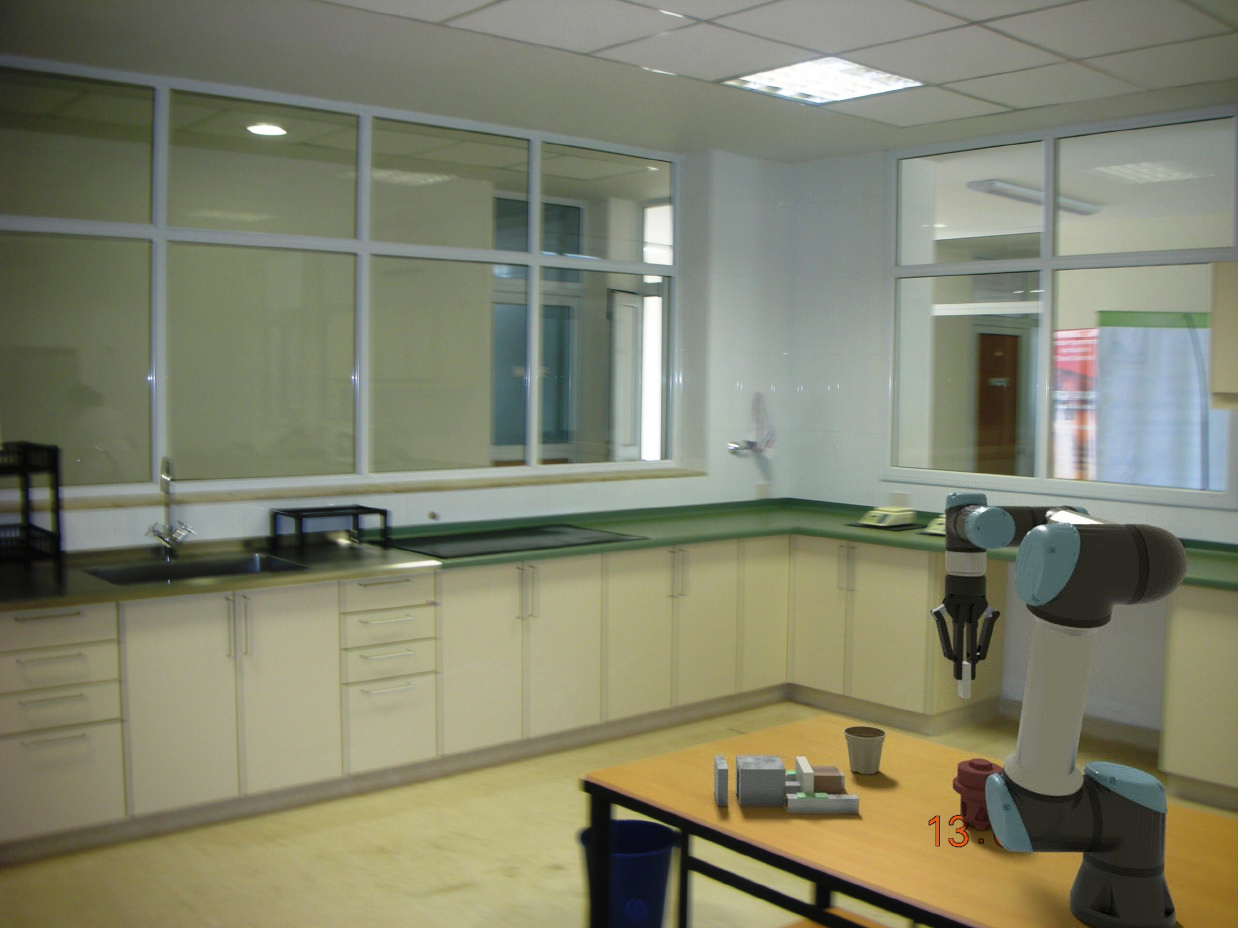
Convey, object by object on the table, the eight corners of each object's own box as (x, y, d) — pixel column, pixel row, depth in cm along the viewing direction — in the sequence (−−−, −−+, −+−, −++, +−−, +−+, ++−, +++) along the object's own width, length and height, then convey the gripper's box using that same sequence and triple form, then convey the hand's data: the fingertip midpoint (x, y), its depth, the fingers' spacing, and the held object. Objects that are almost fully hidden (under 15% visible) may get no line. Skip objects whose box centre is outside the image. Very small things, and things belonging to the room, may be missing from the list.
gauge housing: (858, 813, 210) (859, 775, 209) (719, 812, 210) (719, 774, 209) (842, 785, 226) (842, 750, 225) (712, 784, 226) (712, 749, 225)
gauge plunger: (813, 806, 213) (813, 772, 212) (743, 806, 213) (743, 772, 212) (804, 789, 223) (805, 756, 222) (737, 788, 223) (738, 755, 222)
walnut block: (841, 804, 215) (841, 775, 215) (811, 804, 215) (811, 775, 215) (835, 794, 221) (836, 765, 221) (806, 793, 221) (807, 765, 221)
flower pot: (833, 766, 238) (834, 728, 237) (867, 760, 242) (868, 723, 241) (860, 779, 229) (860, 740, 229) (895, 773, 233) (895, 734, 233)
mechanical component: (1002, 816, 209) (1010, 836, 199) (949, 812, 211) (954, 832, 201) (1003, 754, 208) (1012, 771, 198) (950, 751, 210) (956, 767, 200)
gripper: (991, 571, 207) (990, 692, 207) (925, 571, 206) (924, 692, 207) (1007, 575, 199) (1005, 701, 199) (938, 575, 199) (937, 701, 199)
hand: (964, 696), depth 203 cm, fingers closed
